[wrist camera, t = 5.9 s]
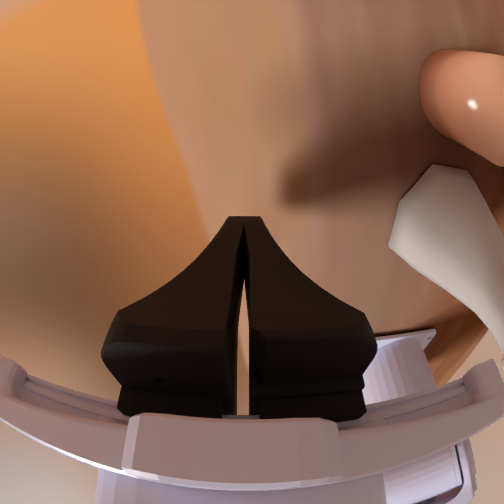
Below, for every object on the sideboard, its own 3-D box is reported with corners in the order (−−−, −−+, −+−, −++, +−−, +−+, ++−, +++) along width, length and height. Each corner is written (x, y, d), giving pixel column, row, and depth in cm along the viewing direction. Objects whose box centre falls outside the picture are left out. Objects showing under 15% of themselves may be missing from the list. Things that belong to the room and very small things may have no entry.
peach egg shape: (475, 146, 10) (521, 175, 7) (412, 126, 10) (462, 152, 7) (485, 69, 7) (536, 83, 4) (420, 35, 7) (475, 34, 4)
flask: (367, 252, 15) (434, 414, 7) (424, 140, 11) (578, 268, 3) (440, 273, 16) (501, 389, 8) (491, 190, 12) (586, 294, 4)
